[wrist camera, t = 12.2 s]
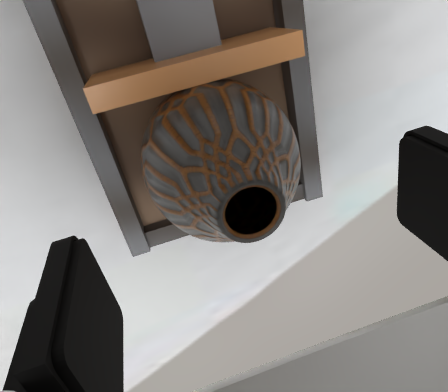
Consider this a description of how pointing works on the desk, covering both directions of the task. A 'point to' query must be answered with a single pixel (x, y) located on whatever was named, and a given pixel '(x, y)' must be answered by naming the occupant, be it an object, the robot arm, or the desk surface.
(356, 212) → the desk surface
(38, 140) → the desk surface
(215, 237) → the vase
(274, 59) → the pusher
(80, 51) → the tray
